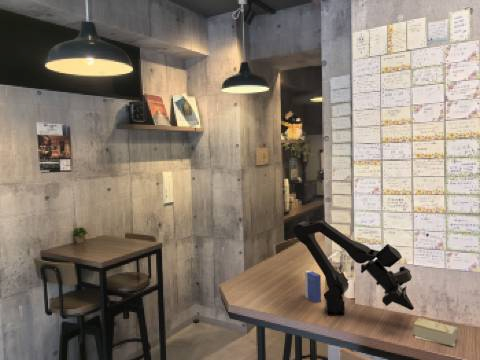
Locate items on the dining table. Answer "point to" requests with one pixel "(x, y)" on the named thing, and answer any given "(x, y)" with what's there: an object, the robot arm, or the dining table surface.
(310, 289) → the walkman
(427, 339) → the mat
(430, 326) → the skincare box
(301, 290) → the dining table surface
